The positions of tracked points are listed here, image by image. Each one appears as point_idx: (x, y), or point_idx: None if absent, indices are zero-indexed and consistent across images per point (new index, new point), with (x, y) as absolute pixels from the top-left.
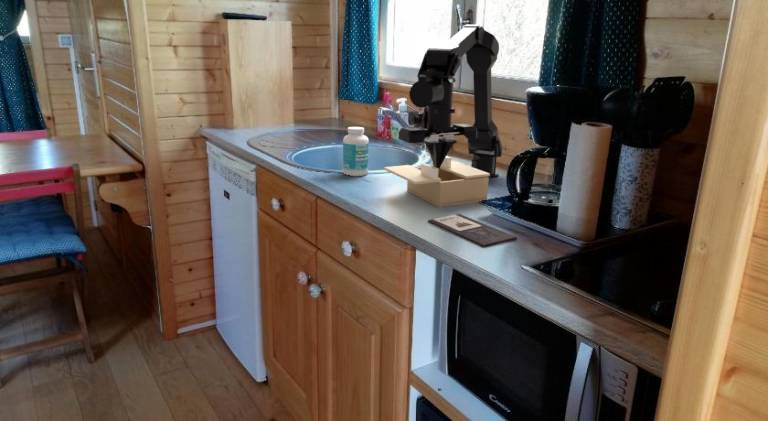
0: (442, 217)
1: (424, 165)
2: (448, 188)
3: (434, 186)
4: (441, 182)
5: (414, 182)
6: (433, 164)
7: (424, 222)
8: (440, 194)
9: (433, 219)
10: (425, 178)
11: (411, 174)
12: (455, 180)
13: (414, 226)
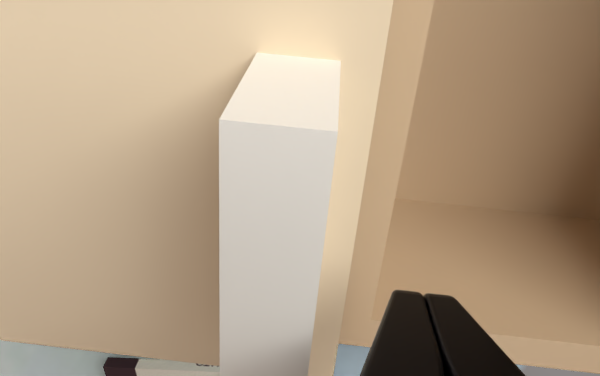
0: (199, 373)
1: (223, 238)
2: None
3: None
4: (345, 338)
5: (1, 312)
6: (378, 330)
7: (88, 352)
8: None
9: (135, 373)
10: (174, 288)
11: (80, 28)
12: (539, 353)
13: (15, 367)
